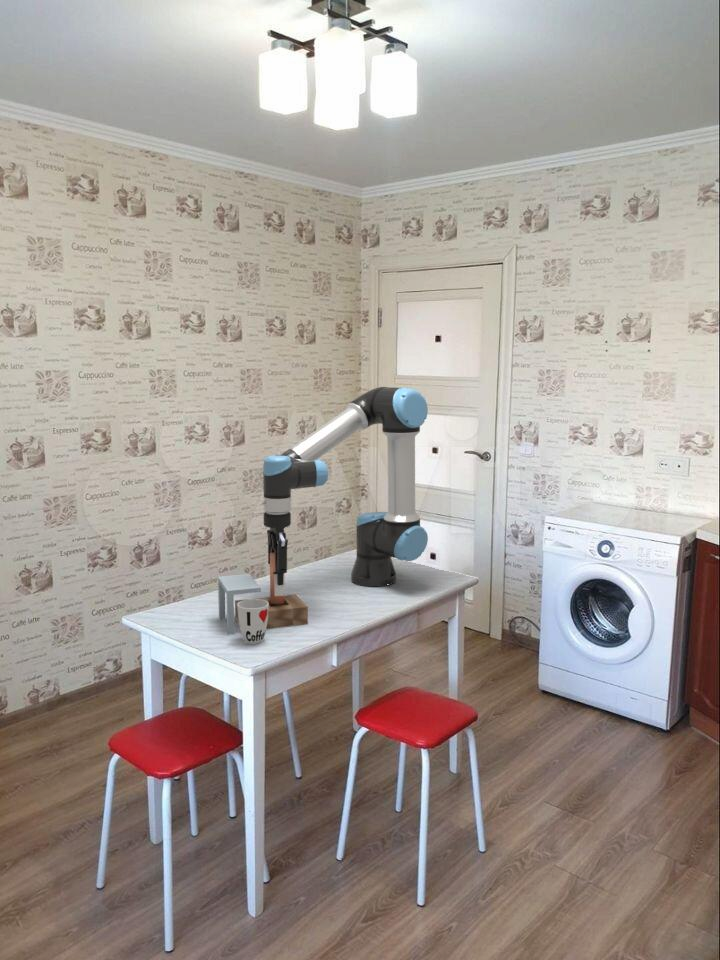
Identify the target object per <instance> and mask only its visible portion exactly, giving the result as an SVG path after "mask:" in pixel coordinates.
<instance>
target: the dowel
mask: <svg viewBox="0 0 720 960" xmlns="http://www.w3.org/2000/svg"><path fill="white" fill-rule="evenodd" d="M273 572H275V552H272V553H270V564H269V597H270V603H272V604H282V603H284V596H274V574H273Z"/></svg>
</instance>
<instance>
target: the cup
mask: <svg viewBox="0 0 720 960" xmlns="http://www.w3.org/2000/svg"><path fill="white" fill-rule="evenodd" d="M242 600H243V601H240V602H239V603H238V604H237V606H238V619H239V623H238V624H239V629H240V634H241V637H242V640H243V642H244V643H246V644H252V645H253V644H259V643H261V642H262V643H263V641H264V638H265V636H266V632H267V629H266V627H267V621H268V607H269V603H268V602H267V601H265V600H261V599H255V598H248V600H245V599H242Z"/></svg>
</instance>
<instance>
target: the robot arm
mask: <svg viewBox="0 0 720 960" xmlns="http://www.w3.org/2000/svg"><path fill="white" fill-rule="evenodd" d="M428 411H429V409H428V404H427V400H426V398H425V396H424V395H422V393H421V392H420V391H418V390H416V389H414V388H408V387H388V386H380V387H379V386H378V387H375V388H372V389H370V390H368V391H367V392H364V393H363V394H361V395H359V396H358V397H356V398H355V399H354V400H352V401H350V402H349V403H348V404H346V406H345V410H343V411H342V412H340V413H339V414H337V415H336V416H335V417H333V418H331V419H330V420H329V421H327V422H326V423H324V424H323V425H322V426H319V428H316V430H314V431H313V432H311V433H309V435H307V436H305V438H303V439H301V440H300V441H298V443H296V444H294V445H292V446H291V447H290V448H288V449H287V450H286V451H284V452H282V453H281V454H272V455H269V456H267V457H265V458H264V459H263V464H262V465H263V466H262V469H263V470H262V475H263V476H262V477H263V478H262V479H263V480H262V483H263V484H262V485H263V500H261V504H262V505H263V511H264V513H263V526H264V527H265V528H268V529H267V530H266V533H267V559H268V560H267V563H268V565H270V553H272V552H275V572H273V574H274V596H284V595H286V593H285V587H286V586H285V579H286V578H285V574H286V573H288V542H289V540H288V538H287V535H286V532H285V528H288V527H290V526H291V524H292V523H291V522H292V520H291V519H292V516H291V515H292V514H291V512H290V511H291V510H292V495H291V494H292V490H296V489H305V488H306V489H308V488H316V487H320V486H324V485H325V484H326V483H327V481H328V479H329V468H328V466H327V464H326V463H325V462H324V461H323V460H320V458H321V457H323V456H324V455H325V454H327V453H328V452H329V451H331V450H332V449H334V448H335V447H337V446H338V445H340V444H341V443H342V442H343V441H345V440H346V439H348V438H349V437H351V436H352V435H354V434H356V432H357V431H359V430H361V431H364V430H366V429H367V428H369V427H371V426H373V425H379V424H382V427H381V428H382V431H381V433H382V434H383V435H384V436H386V438H387V439H386V440H387V511H372V512H364V513H361V514H359V515H358V516H357V519H356V525H355V526H356V558H355V561H354V564H353V567H352V570H351V574H350V581H351V580H352V581H353V582H354V583H353V582H352V581H351V582H352V583H353V584H355V583H357V584H356V585H358V584H360V585H359V586H362V585H365V586H364V587H372V586H378V587H383V586H382V585H387V584H391V583H393V582H395V581H396V582H397V573H396V569H395V567H394V563H393V559H392V558H394V559H397V560H399V561H405V562H412V561H415V560H418V558H420V557H421V556H422V554H423V553H425V550H426V549H427V546H428V541H429V540H428V539H429V537H428V531H426V529H425V527H422V526H421V517H420V515H419V514H418V513H417V512H416V437H417V435H418V434H419V433H420V431H421V426H422V425H424V423H425V420H427V417H428V413H429V412H428ZM269 528H270V529H269ZM396 582H395V583H396ZM393 584H394V583H393ZM391 585H392V584H391ZM387 586H388V585H387Z"/></svg>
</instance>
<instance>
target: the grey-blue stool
mask: <svg viewBox="0 0 720 960" xmlns="http://www.w3.org/2000/svg"><path fill="white" fill-rule="evenodd" d="M217 587H218V588H217V589H218V590H217V591H218V593H217V595H218V619H219V621H220V620H226V634H227V635H229V636H230V635H234V634H235V598H234V597H235V596H234V595H242V594H243V595H244V594H253V593H254V594H255V593H261V592H262V588H261V586H260V585H259V583H257V581H256V580H255V579H254V577H253V576H252V575H251V574H250V573H243V574H233V575H223V576H222V575H221V576H217Z"/></svg>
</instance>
